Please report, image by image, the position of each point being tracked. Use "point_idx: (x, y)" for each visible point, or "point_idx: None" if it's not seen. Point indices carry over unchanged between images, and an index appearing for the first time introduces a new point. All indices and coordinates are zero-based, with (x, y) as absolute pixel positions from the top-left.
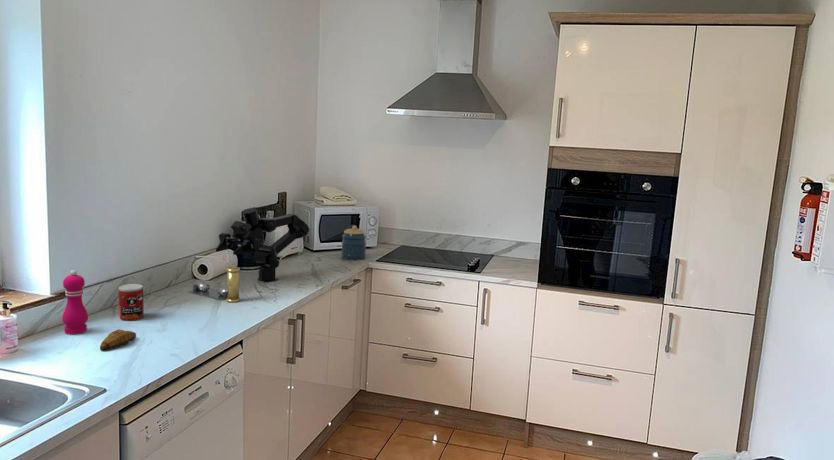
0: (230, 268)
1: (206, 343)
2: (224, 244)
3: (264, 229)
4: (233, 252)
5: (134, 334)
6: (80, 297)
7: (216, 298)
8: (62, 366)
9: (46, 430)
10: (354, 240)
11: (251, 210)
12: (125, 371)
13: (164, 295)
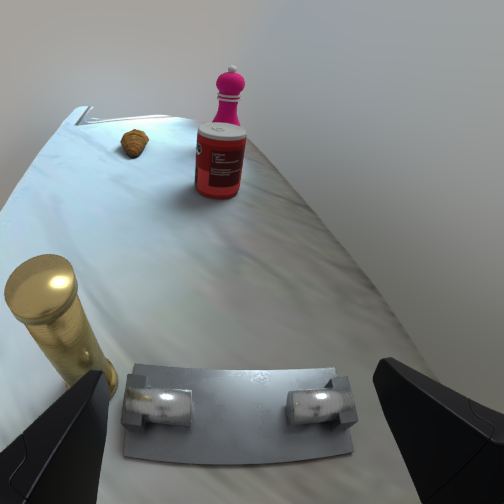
0: (48, 270)
1: (30, 180)
2: (466, 474)
3: None
4: (95, 370)
5: (128, 149)
6: (219, 103)
7: (164, 366)
8: (140, 124)
9: (79, 111)
10: None
11: None
12: (81, 134)
13: (338, 302)
